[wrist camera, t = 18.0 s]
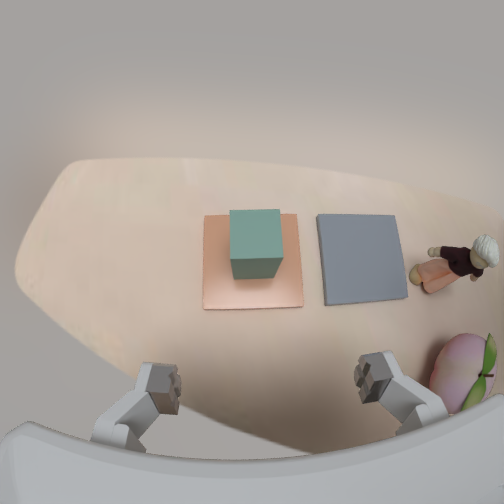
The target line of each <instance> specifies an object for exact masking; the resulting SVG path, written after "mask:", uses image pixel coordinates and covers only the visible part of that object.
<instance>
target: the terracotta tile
mask: <svg viewBox="0 0 504 504" xmlns="http://www.w3.org/2000/svg"><path fill="white" fill-rule="evenodd" d="M280 217H281V229H282V243H283V256H284V258H283V260H282V262H281V264H280V266H279V268H278V270H277V272H276V274H275V276H274V278H269V279H235V280H234V278H233V273H232V267H231V261H230V215H213V216H205V218H204V258H203V309H204V310H245V309H274V308H296V307H303V306H304V298H303V284H302V270H301V258H300V246H299V235H298V224H297V214H280Z"/></svg>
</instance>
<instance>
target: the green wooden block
mask: <svg viewBox="0 0 504 504" xmlns="http://www.w3.org/2000/svg"><path fill="white" fill-rule="evenodd" d="M283 258H284V256H283V243H282V229H281V217H280V209H270V210H230V261H231V267H232V273H233V278H234V280H235V279H269V278H274V276H275V274H276V272H277V270H278V268H279V266H280V264H281V262H282V260H283Z"/></svg>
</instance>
